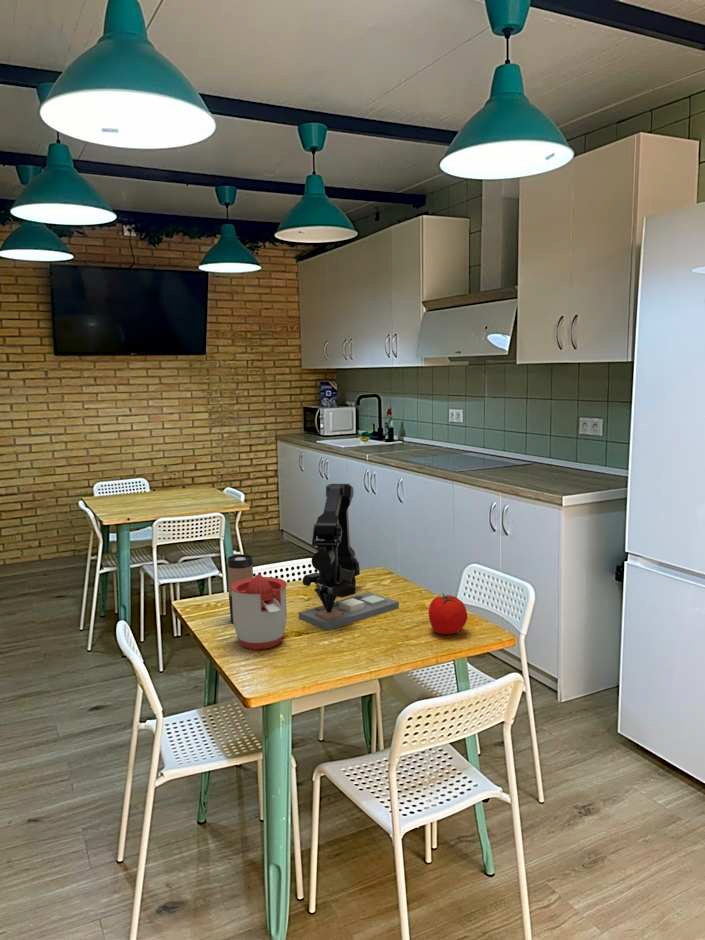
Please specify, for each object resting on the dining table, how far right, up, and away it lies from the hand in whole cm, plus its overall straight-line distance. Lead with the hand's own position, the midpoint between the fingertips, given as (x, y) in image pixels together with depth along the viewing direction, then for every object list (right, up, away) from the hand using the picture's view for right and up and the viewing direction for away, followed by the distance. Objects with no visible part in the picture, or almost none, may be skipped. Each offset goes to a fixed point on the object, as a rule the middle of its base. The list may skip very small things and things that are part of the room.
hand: (329, 612), depth 213 cm
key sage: (+14, -1, +12) cm, 18 cm away
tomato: (+34, -5, -8) cm, 36 cm away
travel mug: (-27, -4, +5) cm, 28 cm away
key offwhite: (+7, 0, +6) cm, 9 cm away
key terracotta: (0, -2, 0) cm, 2 cm away
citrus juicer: (-18, -6, -14) cm, 24 cm away
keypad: (+6, -3, +7) cm, 10 cm away
